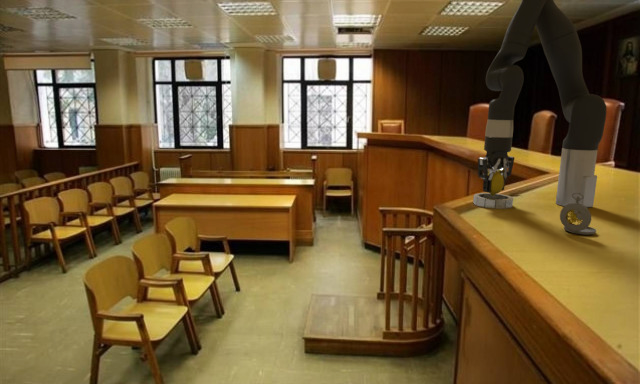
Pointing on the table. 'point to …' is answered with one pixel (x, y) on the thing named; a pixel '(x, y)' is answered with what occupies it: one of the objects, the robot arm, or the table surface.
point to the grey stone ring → (493, 200)
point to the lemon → (496, 183)
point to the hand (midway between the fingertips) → (493, 190)
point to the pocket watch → (577, 217)
